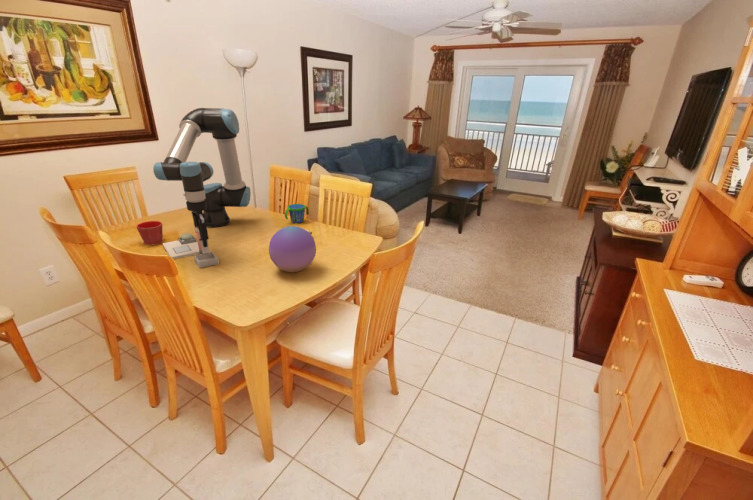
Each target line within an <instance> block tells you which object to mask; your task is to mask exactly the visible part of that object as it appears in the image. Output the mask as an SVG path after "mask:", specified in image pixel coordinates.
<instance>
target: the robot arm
mask: <svg viewBox="0 0 753 500" xmlns="http://www.w3.org/2000/svg"><path fill="white" fill-rule="evenodd" d="M236 114H237V113H235V111H234V110H232V109H231V108H230V109H229V108H224V107H223V108H216V107H214V108H212V107H211V108H210V107H208V108H207V107H199V108H195V109H193V110H191V111H190V112H188V113H187V114H185V116H183V118H182V119H181V120H180V121H179V125H178V126H179V127H178V128H179V129H178V132H177V134H176V136H175V138H174V140H173V141H172V144H171V147H170V148H169V151H168V153H167V155H166V157H165V159H164V161H163V162H162V161H159V162H155V163H154V165H153V167H152V168H153V171H152V172H153V174H154V177H155V178H156V179H157V180H159V181H168V182H171V181H182V187H183V191H184V193H182V195H183V196H184V197H185V200H186V202H185V204H186V209H187V211H189V212H191V213H190V214H191V216H192V219H193V226H194V228H195V227H196V226H198V228H199V233H200V237H201V239H199V241H201V247H202V253H203V254H206V253H210V252H211V251H210V247H209V246H208V245H209V241H208V240H209V238H210V237H209V233H208V228H221V227H225V226H228V225H229V224H231V219H230V216H229V214H228V213H227V211H226V207H228V208H229V207H231V208H236V207H237V208H245V207H248V206H249V204H250V202H251V188H250V186H248V185H247V184H246V181H244V180H243V179H242V173H241V168H240V163H239V157H238V153H237V145H236V141H235V139H236V138H237V137H238V134H239V133H240V124H239V123H240V122H239V120H238V117H237V115H236ZM204 133H207V134H211V137H212V139H213V140H215V141H216V142H217V148H218V151H219V156H220V160H221V161H220V162H221V165H222V170H223V176H224V180H225V183H224V184H223V183H221V182H215V183H214V182H213V183H207V184H204V182H207V181H208V180H210V179H211V177H212V176H214V167H213V166H212V165H211V164H209V162H206V161H202V162H197V161H187V160H188V158H189V155H190V154H191V151H192V149H193V147H194V144H195V142H196V139H197V138H198V137H200V136H201V134H204ZM194 232H195V233H196V231H195V230H194ZM207 239H208V240H207ZM209 251H210V252H209Z"/></svg>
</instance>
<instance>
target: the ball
mask: <svg viewBox="0 0 753 500" xmlns="http://www.w3.org/2000/svg"><path fill="white" fill-rule="evenodd" d="M305 229H306V228H303V227H300V226H295V225H289V226H286V227H285V226H284V227H282V228H280V229H279V230H278V231H276V232H275V233H274V234H273V235H272V236H271V238H270V240H269V245H268V253H269V257H270V260H271V261H272V263H273V264H274V265H275V266H276V267H277V268H278V269H279V270H282V271H284V272H289V273H297V272H300V271H304V270H305V269H306V268H308V267H310V265H312V263H313V261H314V259H315V257H316V253H317V245H316V242H315V239H314V237H313V236H312V235H311V234H310V233H309V232H307V231H306V230H307V229H306V230H305Z"/></svg>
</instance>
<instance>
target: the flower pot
mask: <svg viewBox="0 0 753 500" xmlns="http://www.w3.org/2000/svg"><path fill="white" fill-rule="evenodd" d="M135 228H136V230H137V231H138V233H139V235H140V237H141V239H142V241H143V243H144V244H145V245H147V246H153V245H155V246H156V245H159V244H162V242H163V237H164V235H163V222H162V221H159V220H149V221H144V222H141V223H138V224H136V227H135Z"/></svg>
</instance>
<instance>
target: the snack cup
mask: <svg viewBox="0 0 753 500" xmlns="http://www.w3.org/2000/svg"><path fill="white" fill-rule="evenodd" d="M288 212H289V218H290V222H291V223H292V222H293V223H292V224H295V223H299V224H302V223H301V222H303V223H304V222H305V213H306V215H307V216H308V215H309V214H310V211H309V207H308V206H307V205H305V204H303V203H292V204H289V205H288V206H287V208H286V209H285V212H284V218H285V219H286V220H288V219H289V218H288Z"/></svg>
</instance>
